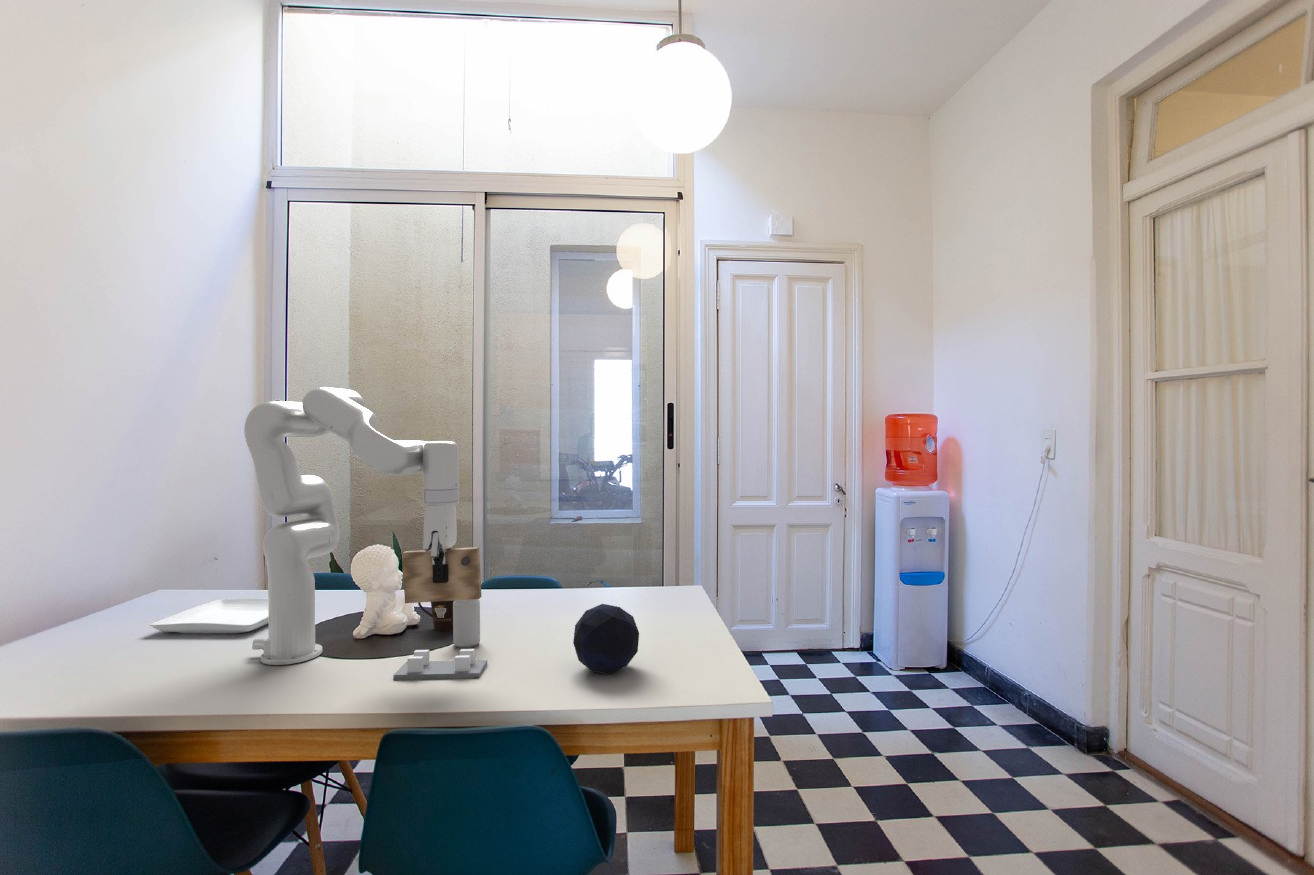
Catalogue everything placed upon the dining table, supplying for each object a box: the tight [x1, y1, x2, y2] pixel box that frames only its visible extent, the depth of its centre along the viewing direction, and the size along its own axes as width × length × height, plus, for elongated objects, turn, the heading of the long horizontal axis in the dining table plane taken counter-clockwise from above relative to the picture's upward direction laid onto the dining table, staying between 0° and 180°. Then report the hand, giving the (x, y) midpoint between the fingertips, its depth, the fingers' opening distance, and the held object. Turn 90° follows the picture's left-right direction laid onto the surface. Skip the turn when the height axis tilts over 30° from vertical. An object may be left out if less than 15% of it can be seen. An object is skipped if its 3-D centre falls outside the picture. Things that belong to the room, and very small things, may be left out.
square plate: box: [148, 597, 268, 634], centre depth 178 cm, size 27×27×4 cm
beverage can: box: [452, 599, 481, 649], centre depth 157 cm, size 6×6×12 cm
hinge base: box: [392, 648, 488, 681], centre depth 139 cm, size 18×8×4 cm, turn 93°
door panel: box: [402, 546, 482, 604], centre depth 139 cm, size 16×3×11 cm, turn 93°
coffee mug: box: [417, 600, 455, 633], centre depth 172 cm, size 12×9×10 cm
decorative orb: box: [572, 603, 640, 675], centre depth 140 cm, size 14×15×15 cm
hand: (442, 580), depth 139 cm, fingers closed on door panel, 2 cm apart
